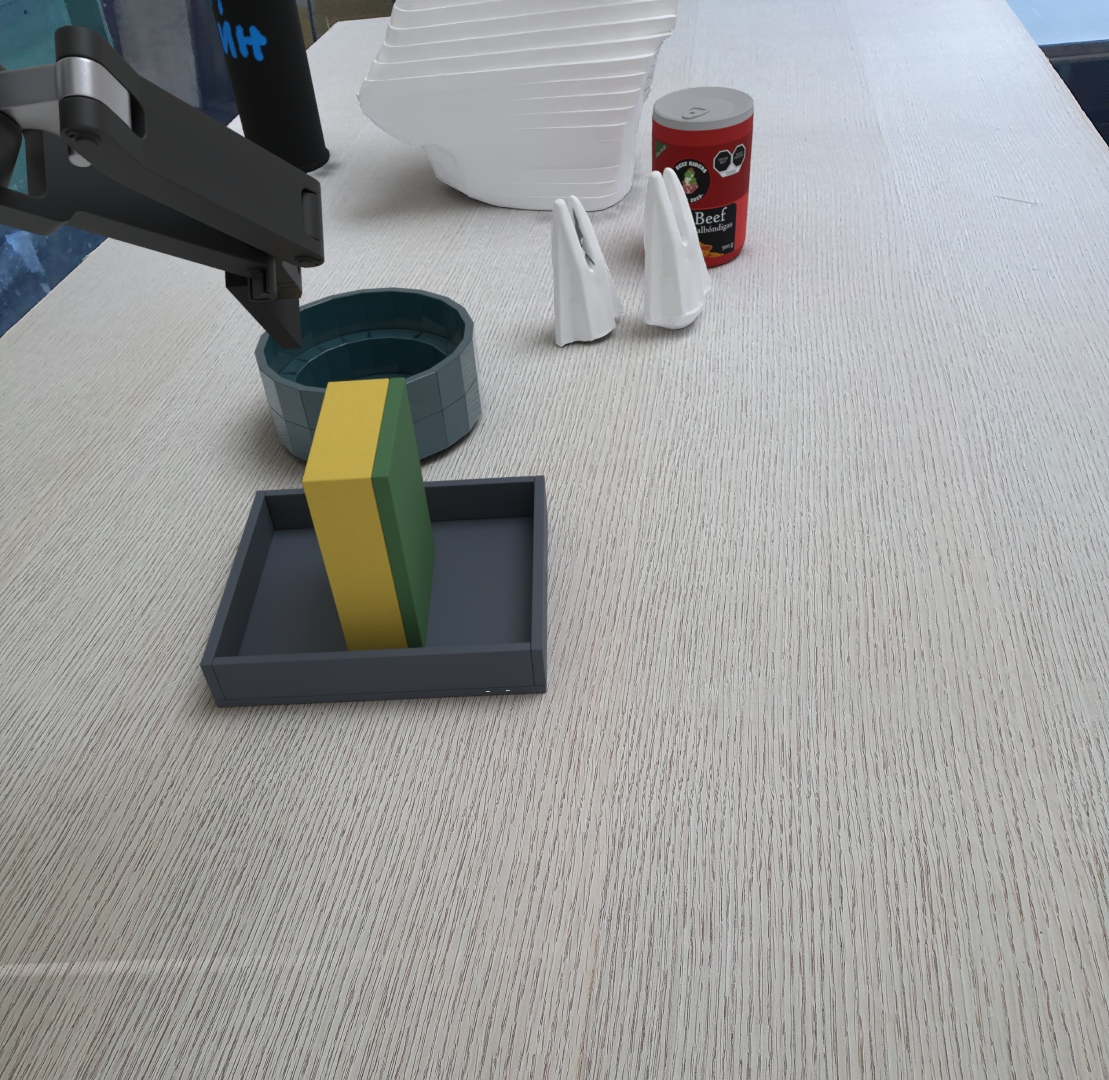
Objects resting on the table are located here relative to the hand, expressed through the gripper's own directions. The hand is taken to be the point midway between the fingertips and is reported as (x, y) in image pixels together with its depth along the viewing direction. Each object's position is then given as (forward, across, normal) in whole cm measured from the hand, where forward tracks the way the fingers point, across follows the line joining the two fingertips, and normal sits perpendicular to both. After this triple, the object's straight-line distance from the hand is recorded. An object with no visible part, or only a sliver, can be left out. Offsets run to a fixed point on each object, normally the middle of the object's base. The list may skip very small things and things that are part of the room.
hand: (122, 325), depth 43 cm
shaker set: (+40, +22, +12) cm, 47 cm away
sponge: (+17, +7, -10) cm, 21 cm away
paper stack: (+63, +14, +34) cm, 73 cm away
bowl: (+32, +4, +4) cm, 33 cm away
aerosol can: (+68, -11, +40) cm, 80 cm away
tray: (+18, +7, -10) cm, 22 cm away
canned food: (+49, +28, +21) cm, 60 cm away
